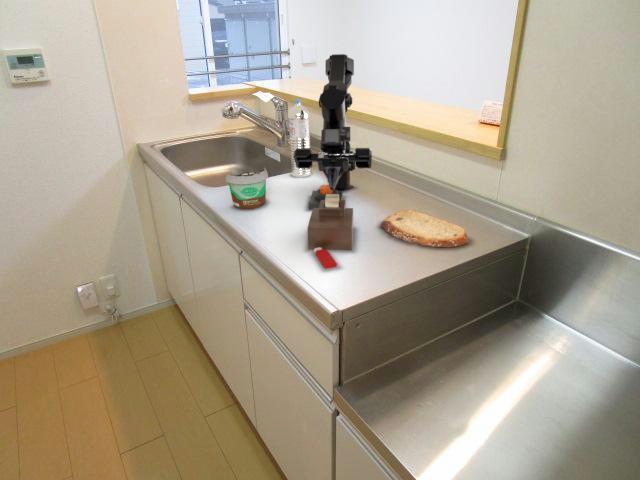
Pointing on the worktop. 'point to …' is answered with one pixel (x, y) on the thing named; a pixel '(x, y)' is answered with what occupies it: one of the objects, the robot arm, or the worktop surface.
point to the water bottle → (298, 135)
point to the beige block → (332, 200)
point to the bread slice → (424, 229)
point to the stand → (331, 227)
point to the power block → (321, 198)
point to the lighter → (325, 258)
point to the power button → (325, 189)
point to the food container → (248, 189)
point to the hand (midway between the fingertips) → (331, 189)
